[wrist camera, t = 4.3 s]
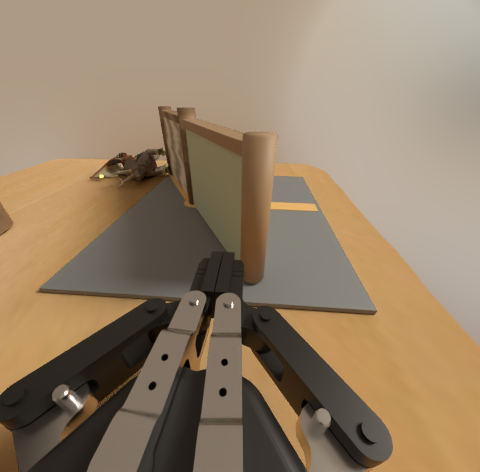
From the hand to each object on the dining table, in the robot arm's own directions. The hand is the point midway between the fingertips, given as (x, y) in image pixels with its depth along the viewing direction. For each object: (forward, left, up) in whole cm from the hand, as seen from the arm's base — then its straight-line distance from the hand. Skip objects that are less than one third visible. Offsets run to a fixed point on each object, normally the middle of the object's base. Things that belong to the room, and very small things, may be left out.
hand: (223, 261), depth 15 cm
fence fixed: (-12, +30, -6) cm, 33 cm away
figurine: (-26, +37, -7) cm, 45 cm away
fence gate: (-2, +12, -6) cm, 14 cm away
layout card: (-3, +20, -7) cm, 21 cm away
